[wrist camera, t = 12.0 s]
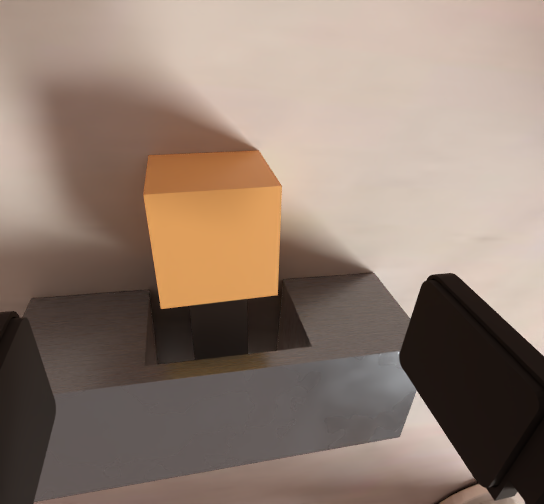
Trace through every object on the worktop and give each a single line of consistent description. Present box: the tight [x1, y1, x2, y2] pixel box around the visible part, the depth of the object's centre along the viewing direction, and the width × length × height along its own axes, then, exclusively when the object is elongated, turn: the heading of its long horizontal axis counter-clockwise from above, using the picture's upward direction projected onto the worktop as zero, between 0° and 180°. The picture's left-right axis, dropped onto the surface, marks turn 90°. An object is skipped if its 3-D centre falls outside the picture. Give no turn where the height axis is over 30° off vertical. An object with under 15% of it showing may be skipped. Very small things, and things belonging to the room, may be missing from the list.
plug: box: [143, 150, 282, 360], centre depth 18 cm, size 14×4×4 cm, turn 178°
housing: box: [23, 273, 417, 502], centre depth 19 cm, size 6×16×6 cm, turn 86°
